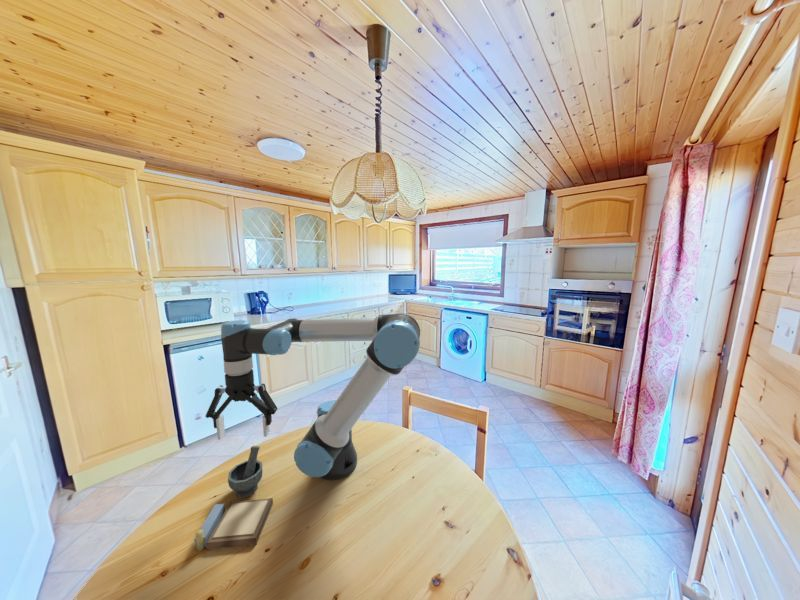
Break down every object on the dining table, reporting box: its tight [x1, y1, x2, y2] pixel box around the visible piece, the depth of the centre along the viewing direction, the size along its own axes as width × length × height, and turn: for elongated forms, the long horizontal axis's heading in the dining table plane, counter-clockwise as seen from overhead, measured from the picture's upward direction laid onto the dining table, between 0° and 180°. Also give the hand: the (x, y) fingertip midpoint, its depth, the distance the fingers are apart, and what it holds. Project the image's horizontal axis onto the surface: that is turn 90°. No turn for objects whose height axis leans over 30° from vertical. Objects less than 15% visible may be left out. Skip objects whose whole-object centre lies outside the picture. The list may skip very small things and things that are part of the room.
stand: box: [206, 497, 274, 551], centre depth 75 cm, size 12×12×2 cm
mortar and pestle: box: [227, 445, 263, 499], centre depth 87 cm, size 11×9×12 cm
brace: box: [194, 502, 226, 552], centre depth 73 cm, size 11×2×4 cm, turn 9°
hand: (244, 435), depth 85 cm, fingers open, 13 cm apart
